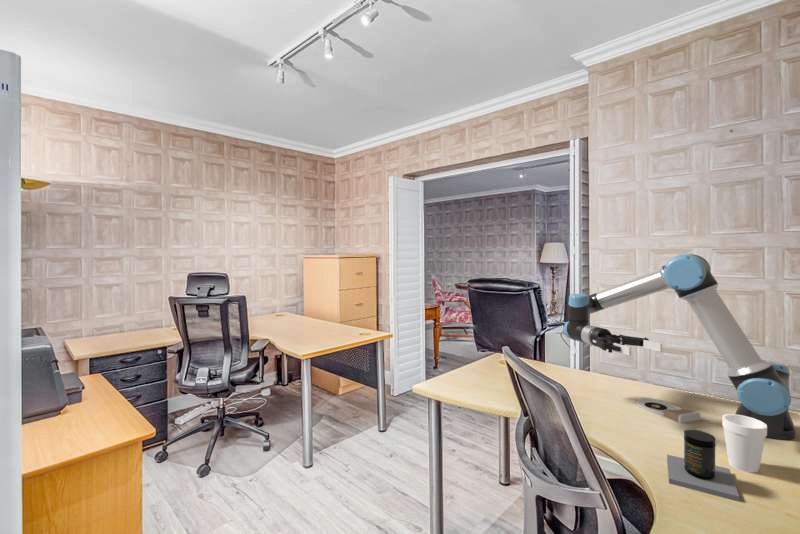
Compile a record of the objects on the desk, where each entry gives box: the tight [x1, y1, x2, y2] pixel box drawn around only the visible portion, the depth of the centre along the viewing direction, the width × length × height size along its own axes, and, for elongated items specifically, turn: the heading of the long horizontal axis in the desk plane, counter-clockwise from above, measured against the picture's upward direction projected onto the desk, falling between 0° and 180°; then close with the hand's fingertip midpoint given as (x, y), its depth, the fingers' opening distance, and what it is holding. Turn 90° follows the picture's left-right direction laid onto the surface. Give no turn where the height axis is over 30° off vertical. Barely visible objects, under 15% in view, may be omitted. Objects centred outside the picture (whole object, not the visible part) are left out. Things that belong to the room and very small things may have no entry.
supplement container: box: [683, 429, 717, 480], centre depth 102 cm, size 7×7×10 cm
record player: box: [636, 397, 701, 424], centre depth 145 cm, size 12×3×20 cm
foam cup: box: [721, 413, 767, 474], centre depth 107 cm, size 10×9×13 cm
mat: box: [666, 454, 740, 502], centre depth 102 cm, size 14×14×1 cm
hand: (646, 349), depth 128 cm, fingers open, 13 cm apart
